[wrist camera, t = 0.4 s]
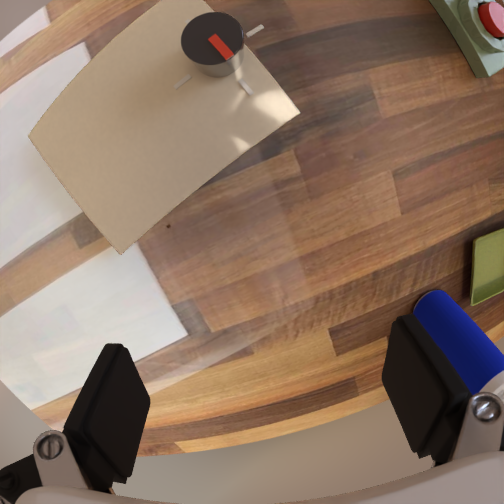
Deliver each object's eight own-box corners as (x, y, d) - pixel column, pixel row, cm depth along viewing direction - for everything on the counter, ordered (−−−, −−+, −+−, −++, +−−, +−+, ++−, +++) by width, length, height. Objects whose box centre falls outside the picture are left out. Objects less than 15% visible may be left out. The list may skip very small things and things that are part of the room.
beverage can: (403, 324, 31) (465, 423, 17) (421, 284, 29) (500, 377, 15) (435, 326, 31) (497, 414, 18) (452, 289, 29) (529, 372, 16)
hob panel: (45, 133, 22) (26, 136, 19) (210, -15, 18) (205, -31, 15) (131, 242, 27) (119, 256, 24) (313, 102, 22) (322, 99, 19)
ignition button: (471, 8, 14) (482, 4, 13) (488, 2, 14) (499, -2, 12) (491, 41, 16) (503, 39, 14) (506, 33, 15) (517, 31, 13)
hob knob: (183, 53, 18) (167, 34, 13) (223, 24, 17) (218, -1, 13) (213, 87, 19) (204, 76, 15) (254, 58, 18) (256, 40, 14)
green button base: (424, -6, 17) (444, -18, 13) (459, -18, 16) (479, -28, 12) (476, 78, 20) (501, 76, 17) (505, 59, 19) (528, 57, 15)
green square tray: (461, 299, 30) (470, 308, 28) (464, 232, 27) (475, 239, 25) (507, 277, 29) (516, 284, 27) (512, 215, 26) (523, 220, 24)
